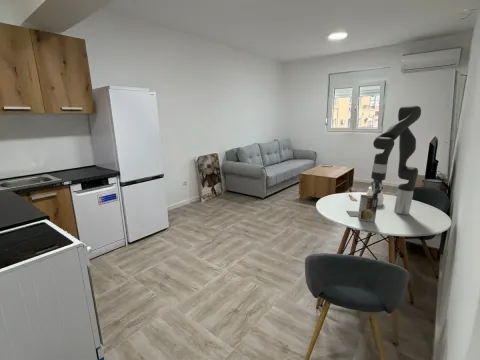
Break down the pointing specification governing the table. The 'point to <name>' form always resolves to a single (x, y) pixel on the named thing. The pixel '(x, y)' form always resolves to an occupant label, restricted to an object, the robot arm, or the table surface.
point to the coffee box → (367, 208)
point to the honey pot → (380, 197)
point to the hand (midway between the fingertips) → (374, 199)
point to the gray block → (353, 213)
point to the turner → (352, 198)
